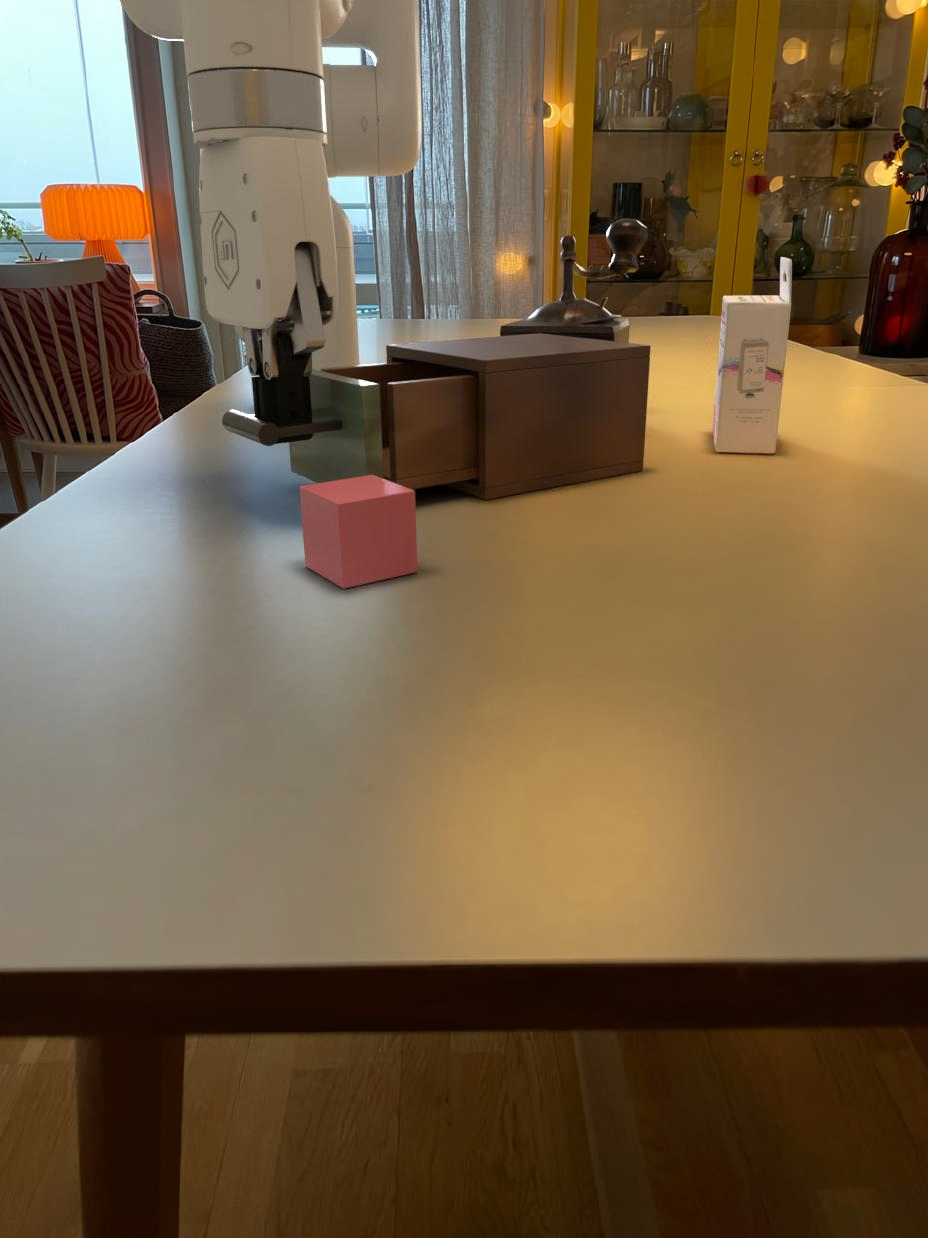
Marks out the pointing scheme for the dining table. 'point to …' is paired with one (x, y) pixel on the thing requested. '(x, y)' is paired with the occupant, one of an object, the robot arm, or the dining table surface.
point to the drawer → (382, 425)
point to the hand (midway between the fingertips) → (285, 439)
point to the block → (359, 530)
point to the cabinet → (548, 407)
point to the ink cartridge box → (752, 369)
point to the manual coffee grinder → (582, 313)
